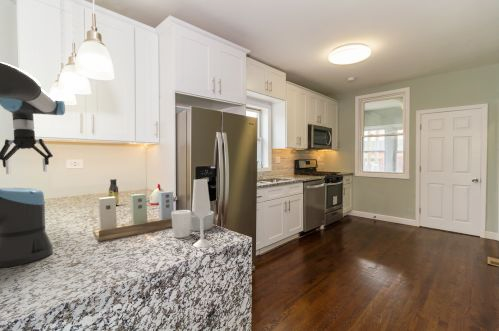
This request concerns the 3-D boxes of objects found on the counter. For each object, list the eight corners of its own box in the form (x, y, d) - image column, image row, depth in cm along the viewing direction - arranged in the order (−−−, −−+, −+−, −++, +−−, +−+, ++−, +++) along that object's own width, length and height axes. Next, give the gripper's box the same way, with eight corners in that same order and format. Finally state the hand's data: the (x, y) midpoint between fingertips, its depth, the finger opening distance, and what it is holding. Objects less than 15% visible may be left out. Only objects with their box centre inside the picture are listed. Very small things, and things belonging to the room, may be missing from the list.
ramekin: (179, 229, 109) (178, 214, 109) (200, 223, 120) (199, 209, 120) (200, 234, 102) (199, 217, 101) (220, 226, 112) (220, 211, 112)
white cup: (195, 235, 100) (194, 211, 100) (178, 239, 94) (177, 214, 94) (185, 231, 105) (184, 209, 105) (168, 236, 100) (167, 212, 99)
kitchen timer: (150, 206, 171) (150, 185, 171) (148, 203, 183) (147, 184, 183) (170, 204, 178) (170, 184, 178) (167, 201, 190) (166, 182, 190)
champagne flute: (205, 239, 93) (203, 178, 93) (215, 244, 88) (213, 179, 88) (189, 244, 89) (187, 179, 88) (199, 248, 84) (197, 180, 83)
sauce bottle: (107, 206, 175) (106, 179, 174) (116, 205, 179) (116, 178, 179) (110, 207, 170) (109, 179, 170) (120, 205, 175) (119, 178, 174)
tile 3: (159, 219, 122) (158, 192, 121) (171, 217, 125) (170, 190, 125) (162, 220, 118) (161, 192, 118) (174, 218, 122) (173, 191, 122)
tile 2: (131, 224, 113) (130, 194, 113) (144, 221, 117) (144, 193, 117) (133, 225, 110) (132, 195, 110) (147, 223, 114) (146, 194, 114)
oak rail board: (93, 232, 107) (93, 223, 107) (172, 219, 130) (171, 211, 130) (98, 241, 95) (97, 231, 95) (184, 224, 117) (183, 216, 117)
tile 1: (99, 229, 105) (98, 198, 105) (115, 227, 109) (113, 196, 109) (101, 231, 102) (99, 199, 102) (116, 228, 106) (115, 197, 106)
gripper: (57, 131, 126) (61, 170, 126) (-7, 131, 115) (-4, 175, 114) (54, 128, 120) (57, 170, 119) (-16, 128, 108) (-12, 174, 108)
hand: (27, 172), depth 117 cm, fingers open, 13 cm apart
